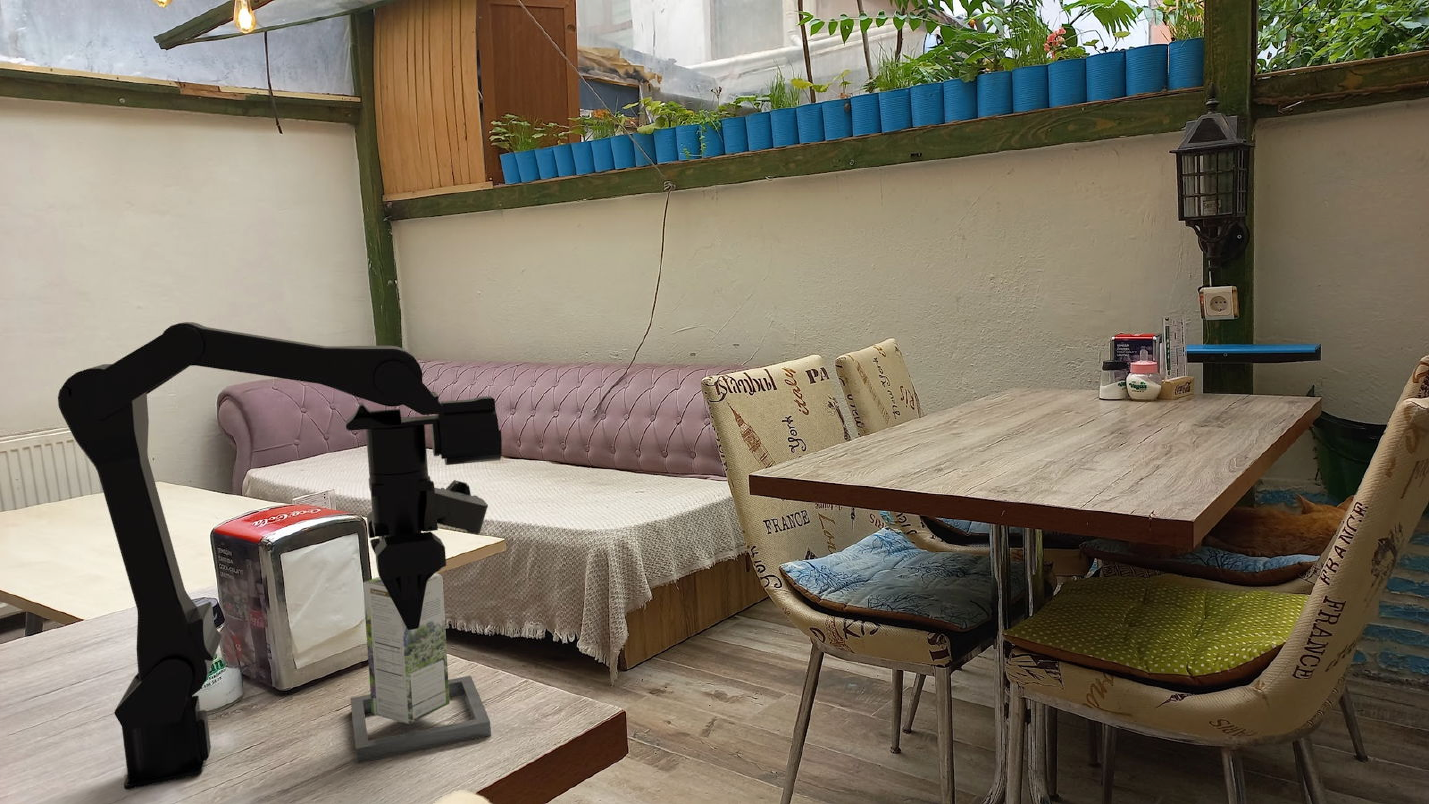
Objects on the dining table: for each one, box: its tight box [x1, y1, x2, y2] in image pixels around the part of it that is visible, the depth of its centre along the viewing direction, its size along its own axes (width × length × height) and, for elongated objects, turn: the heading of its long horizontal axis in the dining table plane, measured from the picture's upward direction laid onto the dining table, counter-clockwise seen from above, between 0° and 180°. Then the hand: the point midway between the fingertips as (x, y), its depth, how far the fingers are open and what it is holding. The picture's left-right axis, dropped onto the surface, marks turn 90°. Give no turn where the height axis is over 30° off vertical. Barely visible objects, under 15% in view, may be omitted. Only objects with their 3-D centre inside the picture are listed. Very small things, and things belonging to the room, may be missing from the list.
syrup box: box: [362, 572, 450, 725], centre depth 101 cm, size 6×6×14 cm
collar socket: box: [350, 675, 492, 764], centre depth 102 cm, size 13×13×2 cm
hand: (409, 616), depth 101 cm, fingers closed on syrup box, 7 cm apart
